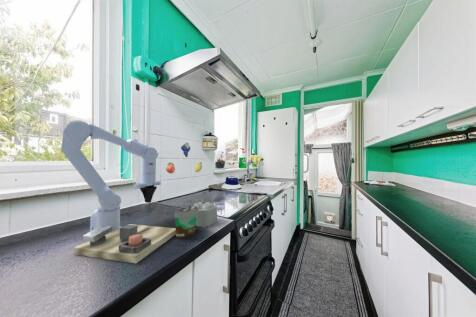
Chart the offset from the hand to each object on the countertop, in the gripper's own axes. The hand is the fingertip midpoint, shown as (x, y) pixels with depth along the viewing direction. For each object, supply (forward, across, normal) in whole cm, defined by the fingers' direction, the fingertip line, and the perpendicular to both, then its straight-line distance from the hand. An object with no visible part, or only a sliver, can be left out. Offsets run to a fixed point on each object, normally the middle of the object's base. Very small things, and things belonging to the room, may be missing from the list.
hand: (148, 202), depth 77 cm
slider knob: (+7, -20, -9) cm, 23 cm away
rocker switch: (+4, -24, -2) cm, 24 cm away
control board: (+9, -18, -9) cm, 22 cm away
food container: (+10, -7, -25) cm, 28 cm away
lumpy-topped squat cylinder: (+10, +7, -24) cm, 27 cm away
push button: (+7, -24, -16) cm, 30 cm away
